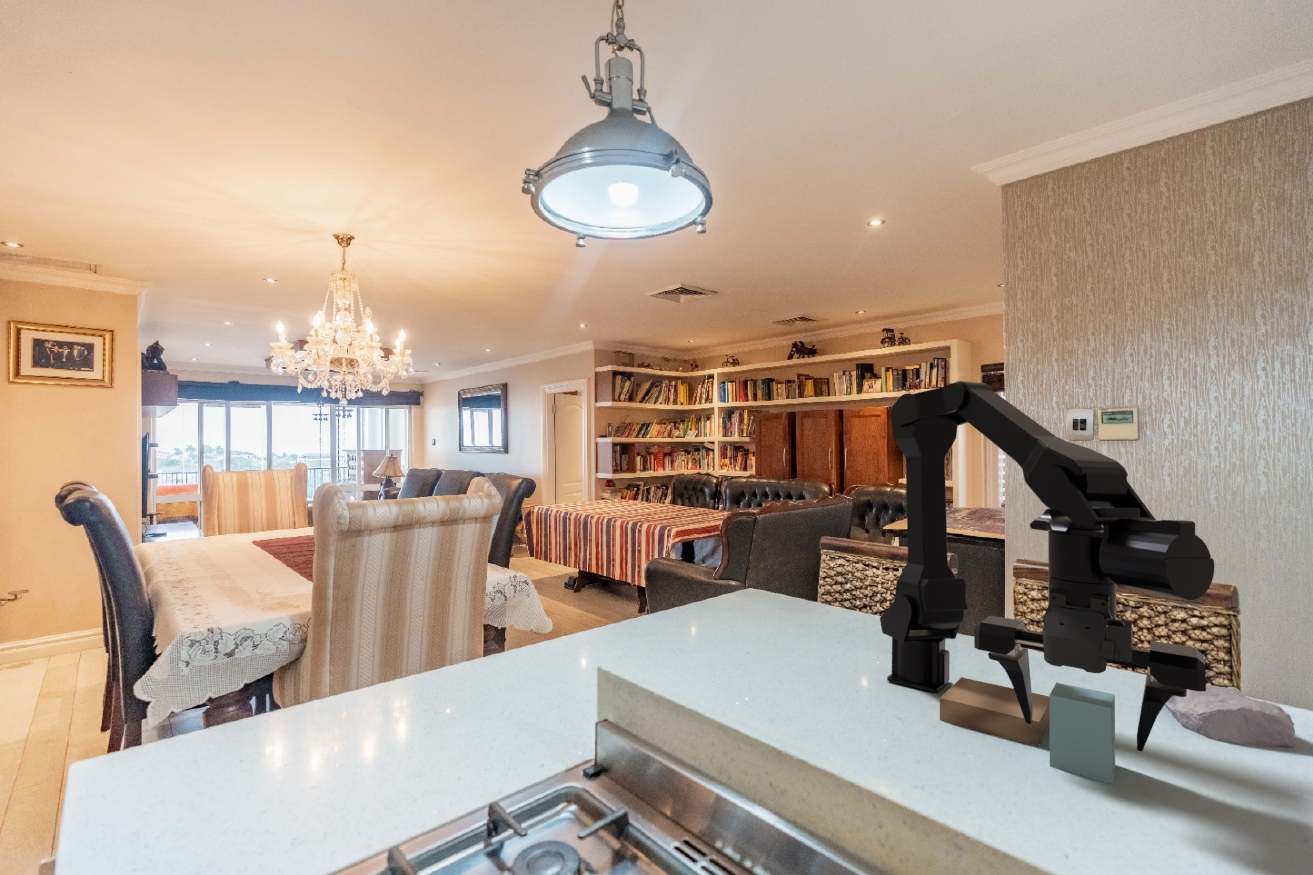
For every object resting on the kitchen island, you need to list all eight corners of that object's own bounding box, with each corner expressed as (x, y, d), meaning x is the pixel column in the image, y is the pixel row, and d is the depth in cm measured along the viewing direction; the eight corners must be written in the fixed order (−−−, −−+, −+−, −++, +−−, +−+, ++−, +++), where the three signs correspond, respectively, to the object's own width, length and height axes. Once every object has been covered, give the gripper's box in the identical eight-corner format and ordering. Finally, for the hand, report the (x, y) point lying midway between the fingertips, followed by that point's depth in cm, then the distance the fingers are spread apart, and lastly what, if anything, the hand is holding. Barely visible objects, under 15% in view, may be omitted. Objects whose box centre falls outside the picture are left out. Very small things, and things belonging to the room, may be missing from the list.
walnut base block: (939, 723, 73) (939, 697, 73) (961, 700, 80) (961, 677, 80) (1039, 750, 66) (1039, 721, 66) (1052, 722, 74) (1052, 696, 74)
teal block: (1049, 766, 62) (1049, 694, 62) (1056, 749, 66) (1056, 682, 66) (1111, 783, 59) (1111, 708, 59) (1115, 764, 63) (1114, 694, 63)
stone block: (1206, 758, 69) (1310, 750, 67) (1194, 713, 70) (1297, 704, 68) (1145, 720, 81) (1233, 712, 79) (1136, 682, 81) (1222, 673, 79)
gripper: (961, 576, 63) (960, 733, 62) (1208, 606, 51) (1210, 801, 50) (986, 564, 71) (985, 702, 71) (1202, 588, 60) (1203, 754, 59)
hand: (1081, 735), depth 62 cm, fingers open, 9 cm apart
